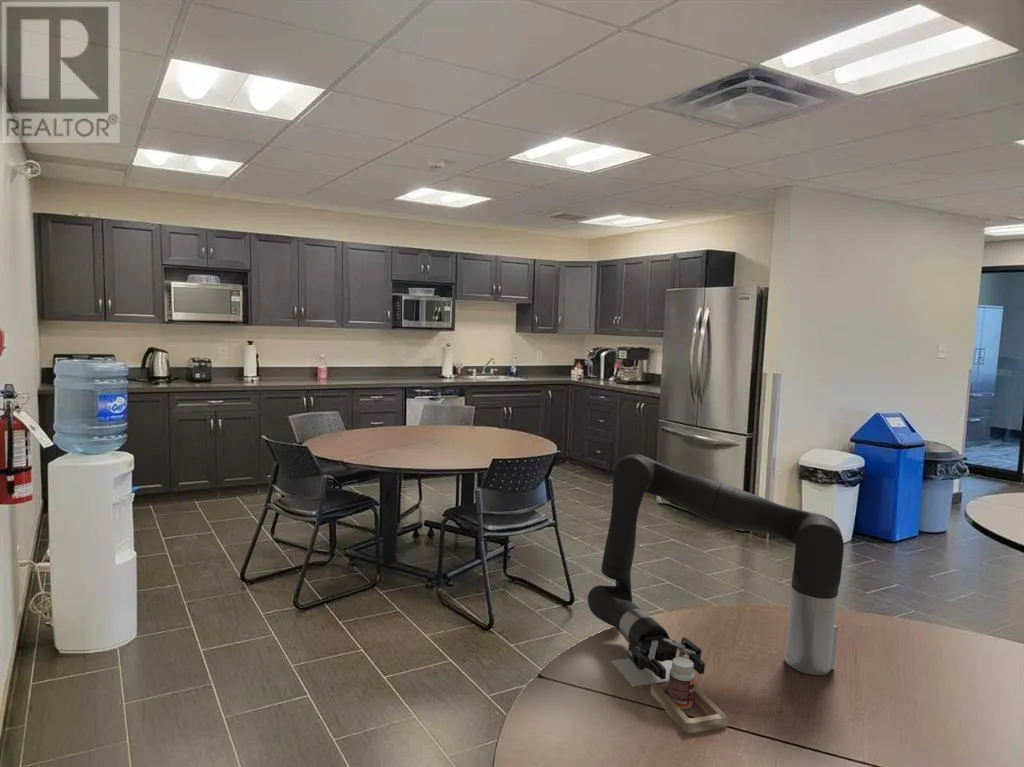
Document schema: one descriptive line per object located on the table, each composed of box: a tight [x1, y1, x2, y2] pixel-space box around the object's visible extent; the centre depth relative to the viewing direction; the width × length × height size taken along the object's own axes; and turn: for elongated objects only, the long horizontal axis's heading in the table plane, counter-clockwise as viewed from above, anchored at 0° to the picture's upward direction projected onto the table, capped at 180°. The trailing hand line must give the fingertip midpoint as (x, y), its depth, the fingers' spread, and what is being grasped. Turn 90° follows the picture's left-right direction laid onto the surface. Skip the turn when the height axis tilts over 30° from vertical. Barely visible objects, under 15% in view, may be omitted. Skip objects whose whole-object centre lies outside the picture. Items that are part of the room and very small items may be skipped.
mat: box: [611, 657, 672, 688], centre depth 139 cm, size 13×10×1 cm
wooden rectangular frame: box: [649, 684, 729, 735], centre depth 125 cm, size 9×13×2 cm, turn 18°
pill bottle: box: [667, 656, 696, 710], centre depth 127 cm, size 5×5×8 cm
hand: (683, 672), depth 127 cm, fingers open, 8 cm apart
